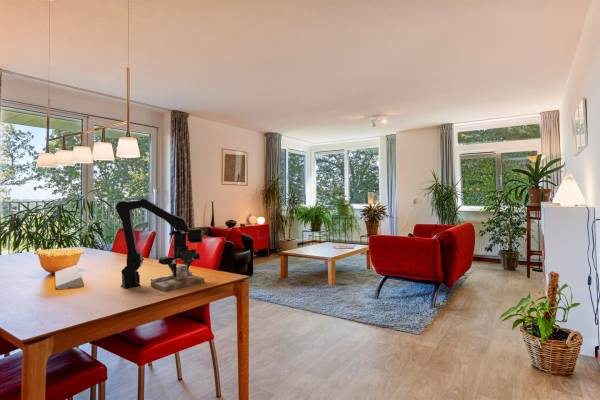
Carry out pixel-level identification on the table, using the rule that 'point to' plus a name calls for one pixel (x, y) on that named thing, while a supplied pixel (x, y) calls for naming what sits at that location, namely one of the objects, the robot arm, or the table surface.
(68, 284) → the white wedge doorstop
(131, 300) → the table surface
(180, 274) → the ball-top joystick
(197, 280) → the board
